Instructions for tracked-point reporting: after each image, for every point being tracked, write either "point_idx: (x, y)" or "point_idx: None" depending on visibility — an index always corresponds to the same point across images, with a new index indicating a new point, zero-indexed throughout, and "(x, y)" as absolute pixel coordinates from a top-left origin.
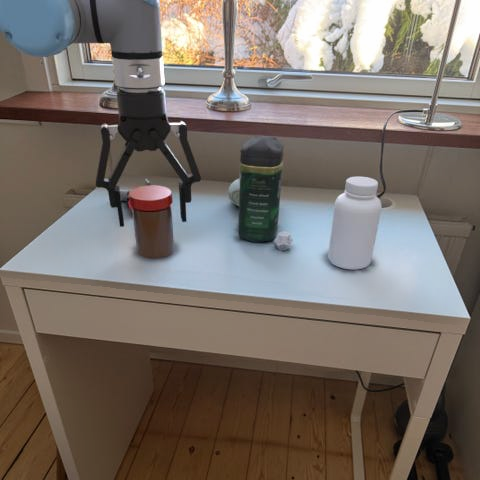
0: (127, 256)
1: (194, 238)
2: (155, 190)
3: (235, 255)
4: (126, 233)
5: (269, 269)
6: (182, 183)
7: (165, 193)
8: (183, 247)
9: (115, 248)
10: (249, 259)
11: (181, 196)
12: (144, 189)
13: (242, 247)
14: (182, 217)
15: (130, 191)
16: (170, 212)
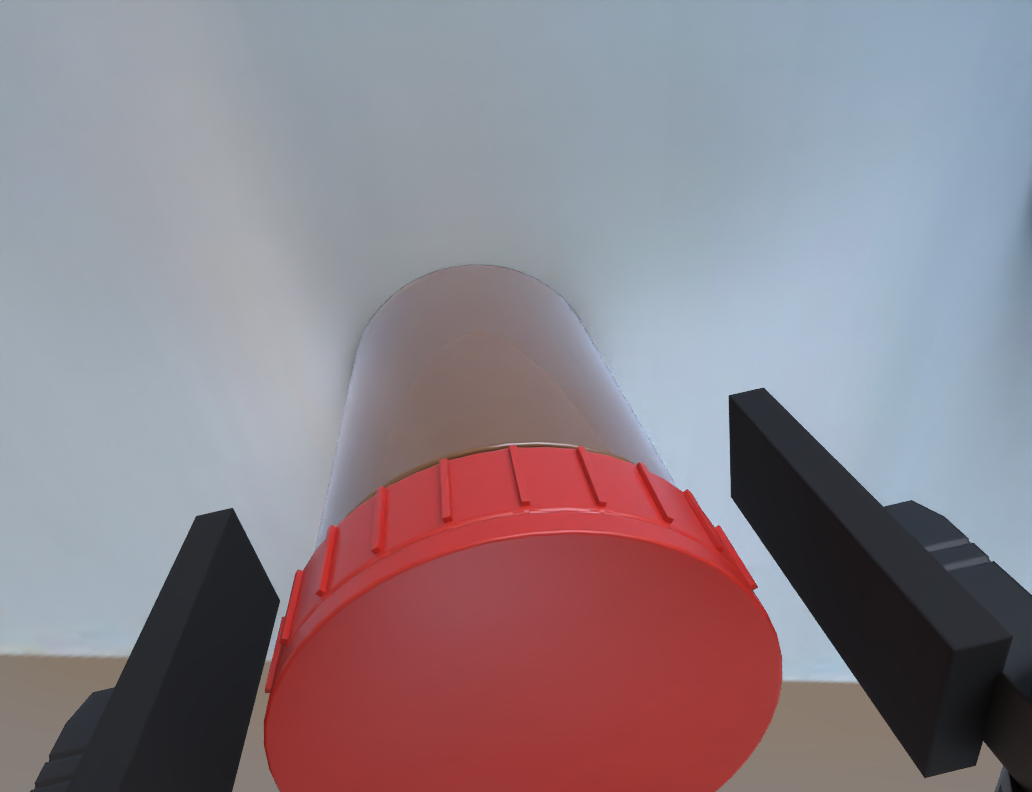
0: (314, 462)
1: (735, 199)
2: (593, 680)
3: (924, 413)
4: (176, 109)
5: (1022, 524)
6: (988, 678)
7: (710, 731)
8: (649, 336)
9: (195, 371)
10: (976, 448)
11: (860, 678)
12: (443, 671)
13: (998, 320)
14: (750, 522)
15: (270, 739)
16: None
